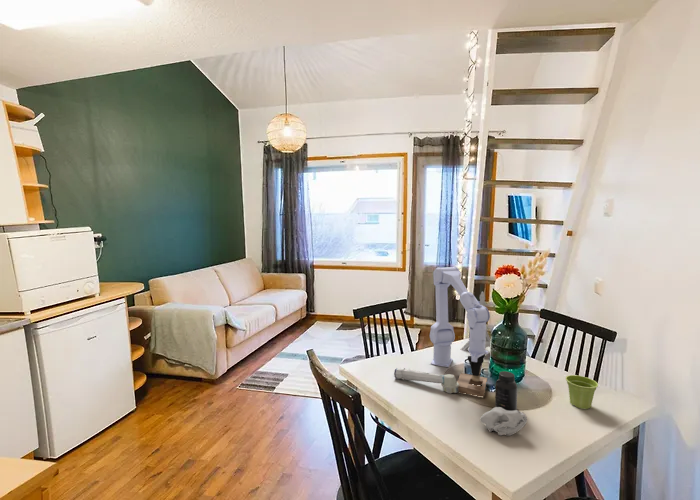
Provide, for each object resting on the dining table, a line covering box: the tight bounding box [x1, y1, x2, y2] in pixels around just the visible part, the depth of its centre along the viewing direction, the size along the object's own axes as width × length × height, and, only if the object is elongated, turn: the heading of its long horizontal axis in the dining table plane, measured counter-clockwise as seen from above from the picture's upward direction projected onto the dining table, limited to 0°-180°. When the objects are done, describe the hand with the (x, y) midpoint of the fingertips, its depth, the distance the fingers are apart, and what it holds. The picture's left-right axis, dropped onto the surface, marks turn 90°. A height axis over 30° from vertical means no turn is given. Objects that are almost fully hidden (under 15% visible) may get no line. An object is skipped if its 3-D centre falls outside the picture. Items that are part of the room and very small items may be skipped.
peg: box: [471, 366, 482, 381], centre depth 131 cm, size 3×3×7 cm
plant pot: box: [565, 374, 599, 410], centre depth 120 cm, size 9×9×9 cm
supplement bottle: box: [494, 370, 518, 411], centre depth 118 cm, size 7×7×12 cm
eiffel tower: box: [460, 291, 491, 359], centre depth 167 cm, size 13×13×30 cm
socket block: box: [456, 372, 488, 398], centre depth 132 cm, size 12×10×2 cm
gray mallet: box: [393, 367, 459, 394], centre depth 134 cm, size 5×7×25 cm
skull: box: [479, 406, 528, 437], centre depth 105 cm, size 8×9×12 cm
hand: (476, 373), depth 131 cm, fingers closed on peg, 3 cm apart
